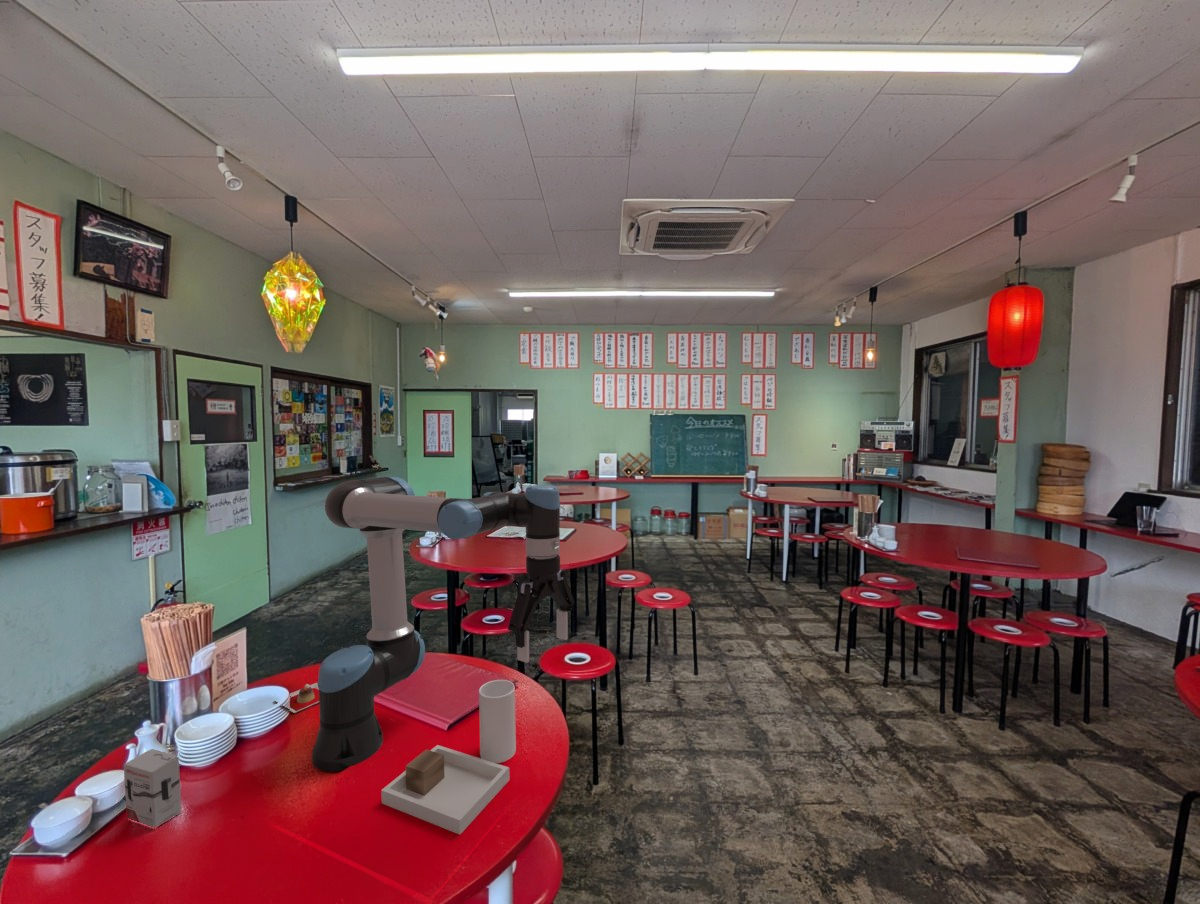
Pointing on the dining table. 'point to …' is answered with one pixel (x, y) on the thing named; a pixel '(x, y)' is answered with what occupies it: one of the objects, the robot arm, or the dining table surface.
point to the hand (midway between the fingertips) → (543, 649)
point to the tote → (451, 791)
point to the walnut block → (424, 772)
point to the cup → (497, 721)
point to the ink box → (152, 787)
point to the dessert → (305, 695)
